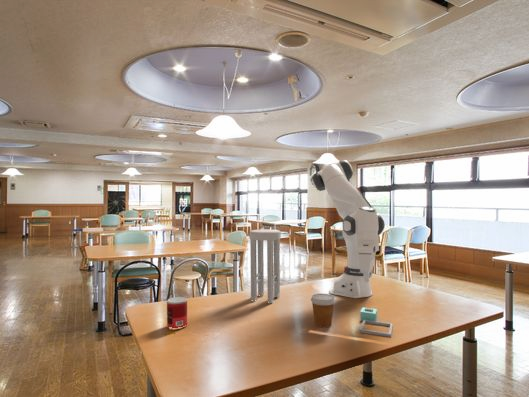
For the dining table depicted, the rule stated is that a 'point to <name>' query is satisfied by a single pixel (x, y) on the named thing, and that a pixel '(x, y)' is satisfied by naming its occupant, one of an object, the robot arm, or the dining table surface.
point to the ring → (368, 314)
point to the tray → (376, 331)
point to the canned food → (177, 312)
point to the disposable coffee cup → (323, 309)
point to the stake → (369, 311)
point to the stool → (269, 236)
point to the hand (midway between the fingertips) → (368, 279)
